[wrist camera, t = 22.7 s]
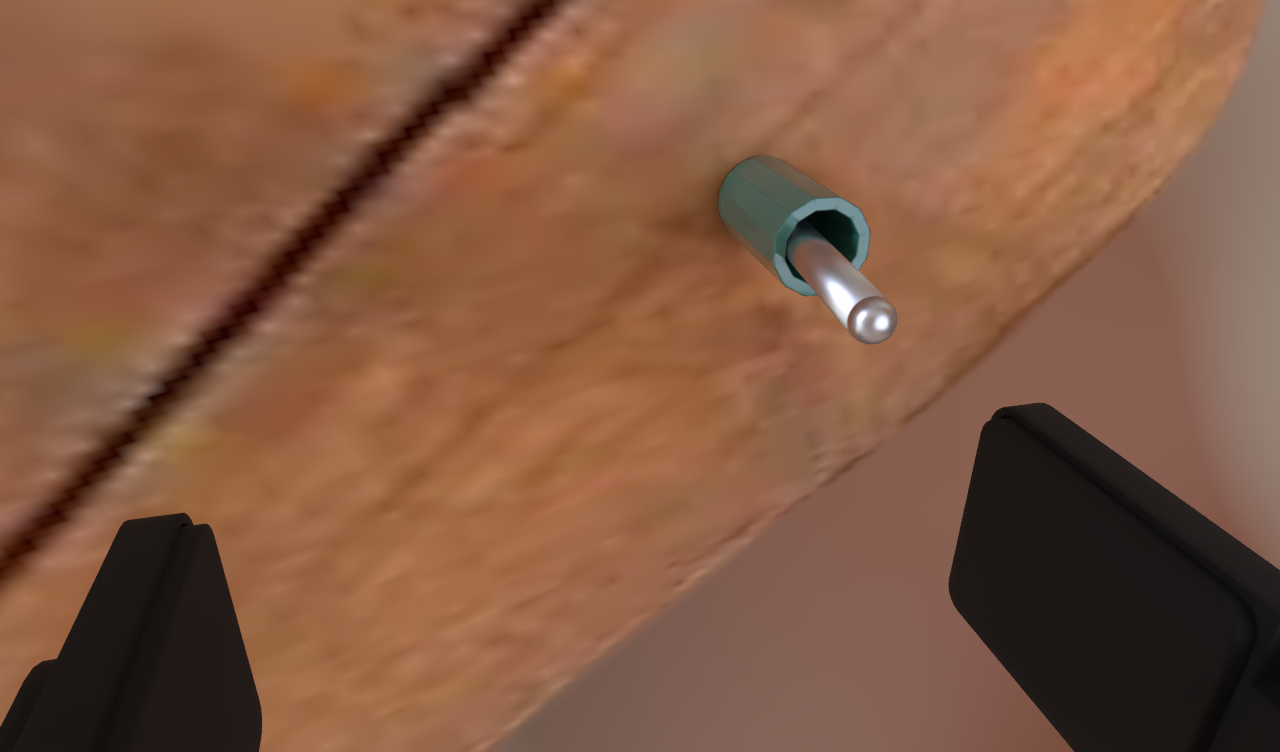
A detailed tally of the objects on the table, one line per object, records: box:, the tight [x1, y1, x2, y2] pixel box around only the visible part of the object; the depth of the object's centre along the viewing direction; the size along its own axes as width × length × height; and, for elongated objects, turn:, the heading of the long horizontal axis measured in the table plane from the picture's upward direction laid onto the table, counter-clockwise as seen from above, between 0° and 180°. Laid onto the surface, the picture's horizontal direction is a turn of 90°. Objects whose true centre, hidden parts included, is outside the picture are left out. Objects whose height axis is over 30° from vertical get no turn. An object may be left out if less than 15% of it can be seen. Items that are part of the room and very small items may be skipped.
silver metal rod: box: [786, 218, 897, 344], centre depth 31 cm, size 2×2×14 cm
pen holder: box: [718, 156, 870, 296], centre depth 35 cm, size 4×4×7 cm
